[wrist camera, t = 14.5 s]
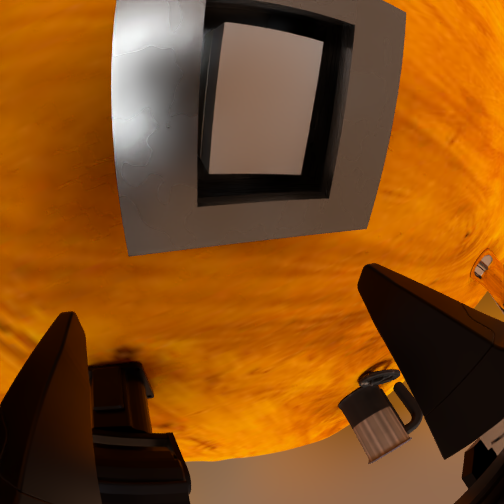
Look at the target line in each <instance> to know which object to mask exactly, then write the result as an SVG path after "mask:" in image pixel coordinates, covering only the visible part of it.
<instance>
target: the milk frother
mask: <svg viewBox="0 0 504 504" xmlns="http://www.w3.org/2000/svg"><path fill="white" fill-rule="evenodd" d="M399 376H400V371H399V370H395V369H389V370H382V371H375V372H370V371H369V375H367V376H364V377H363V378H362V379H360V380H359V386H361V388H359V389H358V390H356V391H354V392H353V393H351V394H350V395H348V396H347V397H346V398H345V399H343V400H342V401H341V402H340V404H339V406H338V407H339V408H340V409H341V410H342V412H343V413H344V415H345V417H346V418H347V420H348V422H349V423H350V425H351V427H352V429H353V430H354V432H355V434H356V436H357V438H358V440H359V442H360V443H361V445H362V447H363V449H364V451H365V452H366V455H367V456H368V458H369V463H368V464H370V463H373V462H374V461H377V460H378V459H380V458H382V457H383V456H385V455H387V454H388V453H390V452H392V451H393V450H395V449H396V448H398V447H400V446H401V445H403V444H404V443H406V442H407V441H409V440H410V439H412V438H410V437H409V436H408V434H409V433H411V432H412V431H413V430H414V429H416V428H417V427H418V425H419V424H420V422H421V420H422V416H423V414H422V412H421V410H420V408H419V406H418V404H417V402H416V400H415V398H414V397H413V396H412V395H411V393H410V392H409V391H408V390H407V388H406V387H405V386H404V385H403V383H402V382H397V383H396V384H395V385H394V388H393V389H394V391H395V393H396V394H397V395H398V397H399V398H400V400H401V401H402V402H403V404H404V405H405V407H406V408H407V409H408V411H409V412H410V414H411V416H412V419H411V421H410V422H409V423H408V424H406V425H404V424H403V422H402V420H401V419H400V417H399V415H398V414H397V412H396V411H395V409H394V407H393V406H392V404H391V403H390V401H389V400H388V398H387V396H386V395H385V393H384V391H383V390H382V389H380V388H379V386H378V385H379V384H383V383H387V382H390V381H392V380H394V379H396V378H398V377H399Z"/></svg>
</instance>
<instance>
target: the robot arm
mask: <svg viewBox="0 0 504 504" xmlns="http://www.w3.org/2000/svg"><path fill="white" fill-rule="evenodd" d="M358 291H359V293H360V295H361V297H362V299H363V301H364V303H365V305H366V307H367V310H368V312H369V314H370V316H371V318H372V320H373V322H374V324H375V326H376V328H377V330H378V332H379V333H380V335H381V337H382V339H383V340H384V342H385V344H386V346H387V347H388V349H389V351H390V353H391V355H392V356H393V358H394V360H395V362H396V364H397V365H398V367H399V369H400V371H401V373H402V375H403V377H404V378H405V380H406V382H407V384H408V386H409V388H410V390H411V392H412V394H413V396H414V398H415V400H416V402H417V404H418V406H419V408H420V410H421V412H422V414H423V416H424V418H425V420H426V422H427V424H428V426H429V428H430V431H431V433H432V435H433V437H434V439H435V441H436V444H437V446H438V448H439V450H440V452H441V455H442V457H443V458H444V460H445V459H447V458H448V457H450V456H452V455H454V454H455V453H457V452H458V451H460V450H461V449H463V448H465V447H466V446H467V445H469V444H471V443H472V442H473V441H475V440H476V439H477V440H476V441H475V443H473V444H472V445H471V446H470V448H469V449H468V450H467V451H466V452H465V455H464V464H463V472H462V479H463V481H464V483H465V484H466V486H467V487H468V490H467V491H466V492H465V493H464V494H463V495H462V496H461V497H460V498H459V499H458V500H457V501H456V502H455V503H454V504H504V322H502V321H500V320H498V319H495V318H493V317H490V316H488V315H486V314H484V313H482V312H479V311H477V310H475V309H473V308H471V307H469V306H467V305H465V304H463V303H460V302H459V301H456V300H454V299H452V298H450V297H448V296H446V295H444V294H442V293H440V292H438V291H436V290H433V289H431V288H429V287H427V286H425V285H423V284H421V283H418V282H416V281H414V280H412V279H410V278H408V277H405V276H403V275H401V274H399V273H397V272H394V271H392V270H390V269H388V268H385V267H383V266H381V265H379V264H376V263H372V264H367V265H365V266H364V267H363V270H362V273H361V275H360V278H359V281H358ZM153 397H154V393H153V390H152V388H151V386H150V384H149V381H148V379H147V376H146V374H145V372H144V369H143V367H142V365H141V364H140V363H129V364H120V365H109V366H98V367H88V364H87V351H86V337H85V333H84V330H83V328H82V326H81V324H80V322H79V319H78V317H77V315H76V313H75V312H73V311H70V312H62V313H60V314H59V316H58V317H57V318H56V320H55V321H54V322H53V324H52V325H51V326H50V328H49V329H48V330H47V332H46V333H45V335H44V336H43V337H42V339H41V340H40V342H39V343H38V345H37V346H36V348H35V349H34V350H33V352H32V353H31V355H30V356H29V358H28V359H27V361H26V363H25V364H24V366H23V367H22V369H21V370H20V372H19V373H18V375H17V377H16V378H15V380H14V382H13V383H12V385H11V387H10V388H9V390H8V392H7V393H6V395H5V397H4V398H3V400H2V402H1V404H0V504H190V501H189V494H190V492H191V480H190V475H189V471H188V468H187V466H186V464H185V461H184V459H183V457H182V454H181V452H180V450H179V447H178V445H177V442H176V440H175V437H174V435H173V433H152V427H151V422H150V416H149V409H148V403H147V399H149V398H153Z"/></svg>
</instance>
